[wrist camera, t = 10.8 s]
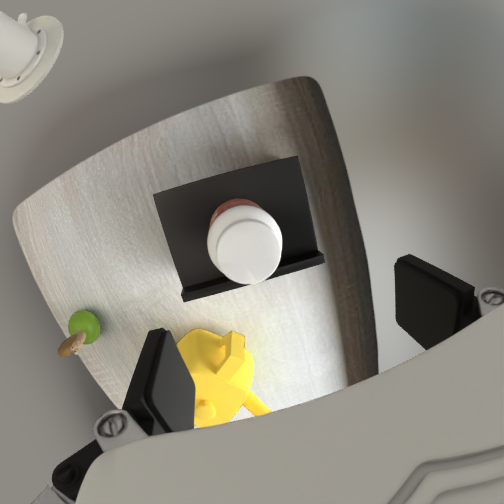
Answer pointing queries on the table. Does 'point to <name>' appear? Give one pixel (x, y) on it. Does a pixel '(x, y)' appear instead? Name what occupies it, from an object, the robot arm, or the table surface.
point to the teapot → (219, 376)
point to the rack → (220, 191)
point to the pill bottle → (244, 241)
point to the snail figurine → (80, 332)
